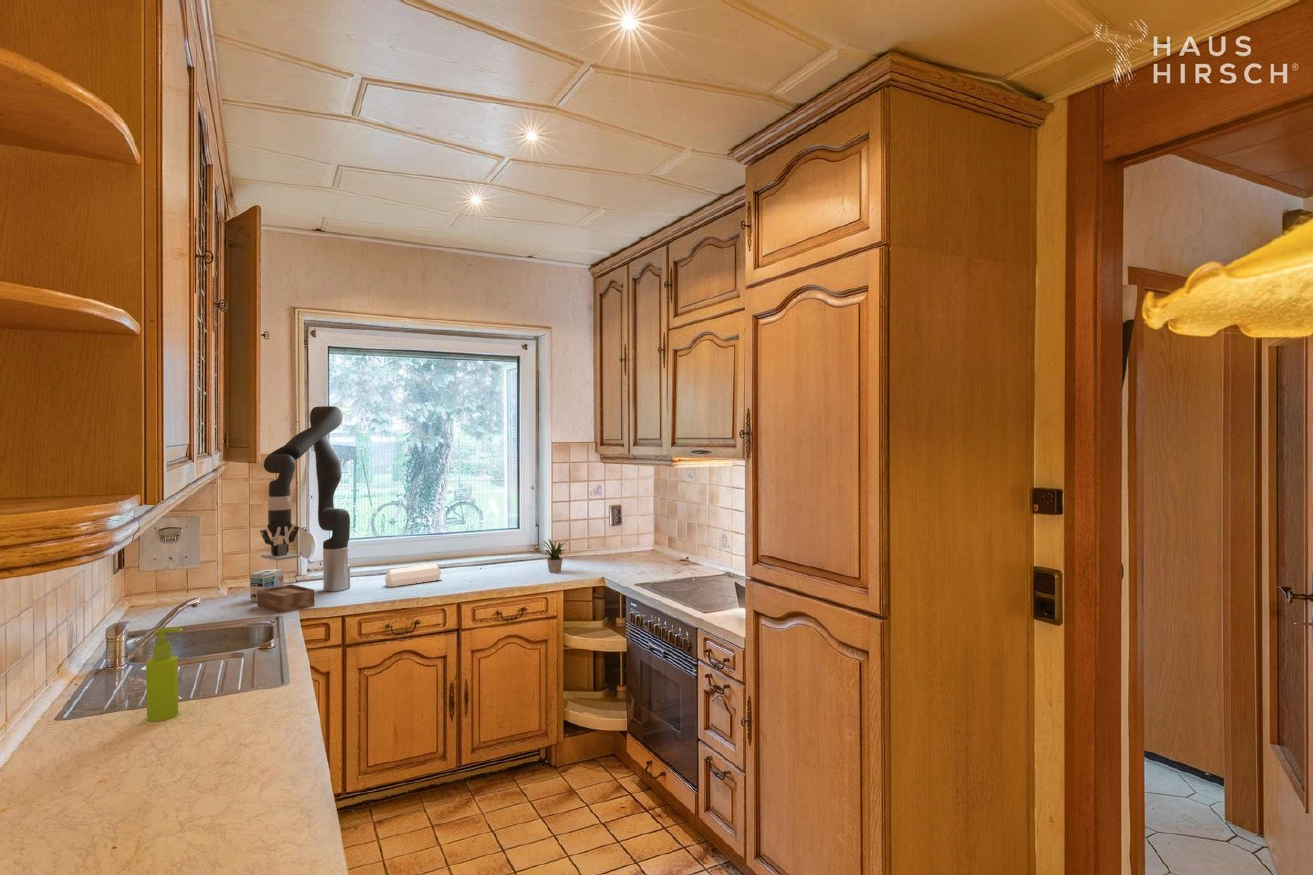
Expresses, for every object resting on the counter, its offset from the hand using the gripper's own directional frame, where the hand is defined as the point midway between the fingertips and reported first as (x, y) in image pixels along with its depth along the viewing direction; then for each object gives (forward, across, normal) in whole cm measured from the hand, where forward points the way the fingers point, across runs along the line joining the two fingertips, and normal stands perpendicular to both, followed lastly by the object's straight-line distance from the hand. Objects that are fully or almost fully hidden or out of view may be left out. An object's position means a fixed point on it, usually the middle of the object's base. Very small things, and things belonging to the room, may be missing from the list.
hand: (279, 554), depth 260 cm
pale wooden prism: (+19, -54, +5) cm, 58 cm away
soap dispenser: (+21, +66, +79) cm, 105 cm away
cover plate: (+1, 0, 0) cm, 1 cm away
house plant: (+19, -103, +39) cm, 112 cm away
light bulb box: (+20, -4, -18) cm, 27 cm away
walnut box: (+19, -2, 0) cm, 20 cm away
